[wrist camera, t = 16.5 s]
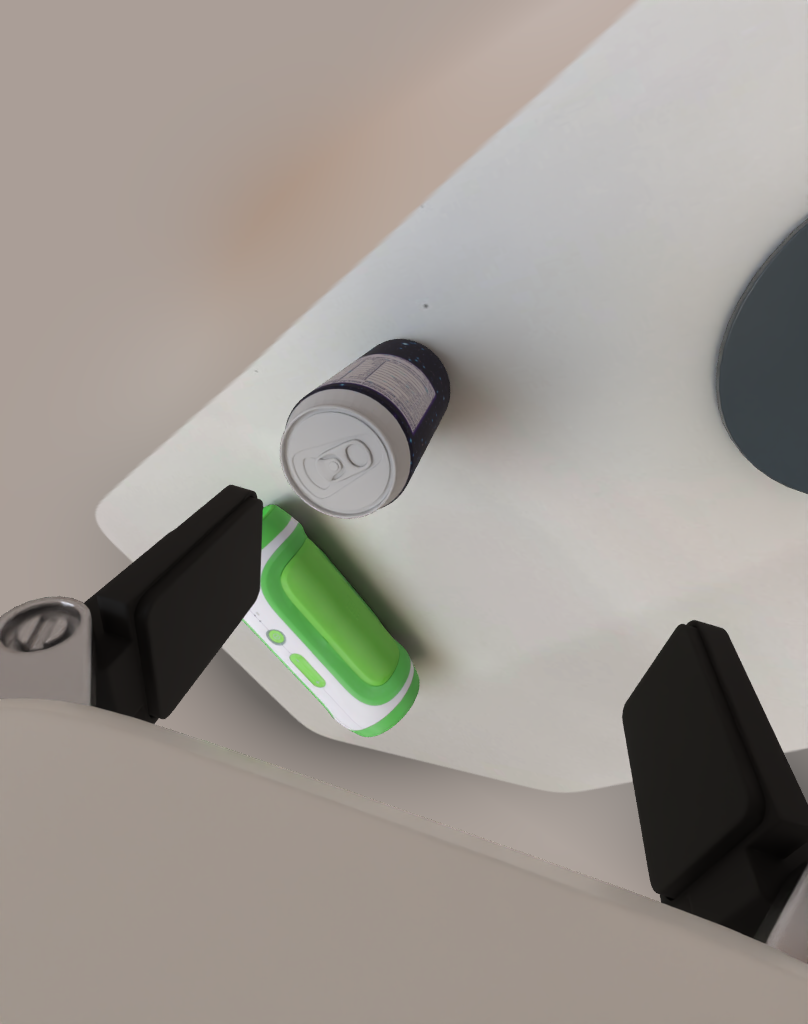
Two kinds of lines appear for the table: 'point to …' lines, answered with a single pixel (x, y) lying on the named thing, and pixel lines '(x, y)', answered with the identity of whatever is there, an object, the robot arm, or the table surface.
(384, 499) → the beverage can
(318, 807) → the robot arm
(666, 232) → the table surface
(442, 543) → the table surface
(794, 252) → the pot lid
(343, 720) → the speaker
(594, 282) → the table surface
